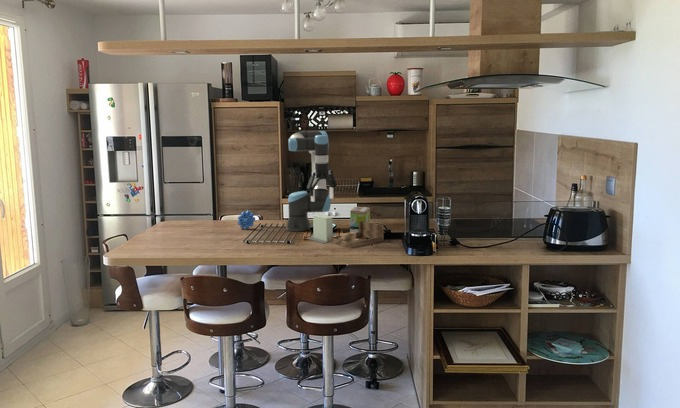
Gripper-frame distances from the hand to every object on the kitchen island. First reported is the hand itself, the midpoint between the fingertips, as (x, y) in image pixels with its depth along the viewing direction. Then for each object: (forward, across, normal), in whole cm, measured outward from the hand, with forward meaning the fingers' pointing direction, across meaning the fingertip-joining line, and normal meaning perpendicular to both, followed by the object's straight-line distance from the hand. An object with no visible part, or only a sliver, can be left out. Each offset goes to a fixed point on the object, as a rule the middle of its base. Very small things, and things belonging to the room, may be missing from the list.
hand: (322, 200), depth 319 cm
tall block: (+22, 0, 0) cm, 22 cm away
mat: (+23, 0, 0) cm, 23 cm away
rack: (+23, +10, -18) cm, 30 cm away
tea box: (+23, +28, -2) cm, 36 cm away
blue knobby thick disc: (+24, -17, +54) cm, 62 cm away
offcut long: (+23, +5, -18) cm, 29 cm away
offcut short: (+20, +4, -18) cm, 27 cm away
